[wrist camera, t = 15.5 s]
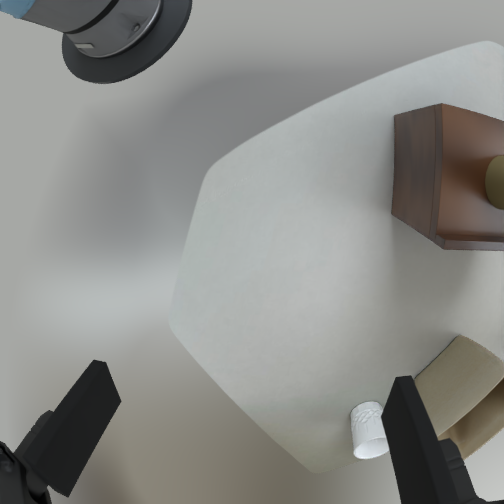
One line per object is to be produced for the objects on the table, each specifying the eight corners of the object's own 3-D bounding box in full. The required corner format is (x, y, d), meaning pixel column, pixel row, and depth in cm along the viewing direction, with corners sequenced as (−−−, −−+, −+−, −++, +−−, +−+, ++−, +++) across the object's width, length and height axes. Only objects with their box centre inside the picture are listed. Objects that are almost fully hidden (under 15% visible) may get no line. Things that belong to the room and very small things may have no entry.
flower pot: (497, 351, 44) (534, 399, 28) (437, 409, 50) (460, 463, 34) (463, 312, 42) (511, 368, 26) (392, 383, 48) (416, 451, 32)
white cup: (340, 413, 52) (345, 451, 42) (372, 393, 49) (383, 431, 40) (359, 426, 53) (366, 462, 44) (390, 408, 51) (401, 444, 41)
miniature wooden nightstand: (394, 115, 34) (451, 100, 19) (489, 134, 32) (556, 139, 17) (391, 214, 38) (443, 249, 24) (484, 220, 37) (545, 252, 22)
